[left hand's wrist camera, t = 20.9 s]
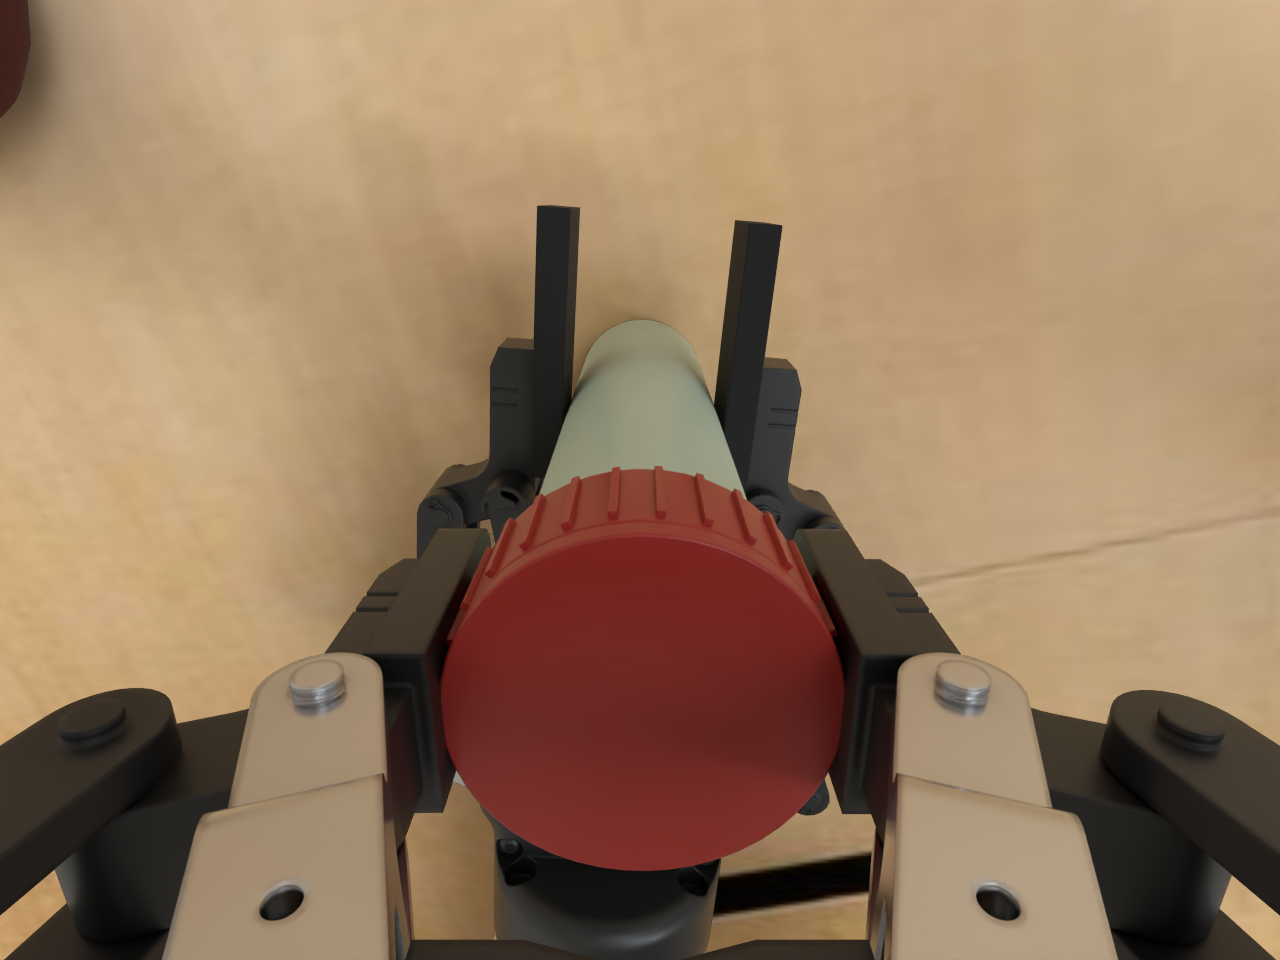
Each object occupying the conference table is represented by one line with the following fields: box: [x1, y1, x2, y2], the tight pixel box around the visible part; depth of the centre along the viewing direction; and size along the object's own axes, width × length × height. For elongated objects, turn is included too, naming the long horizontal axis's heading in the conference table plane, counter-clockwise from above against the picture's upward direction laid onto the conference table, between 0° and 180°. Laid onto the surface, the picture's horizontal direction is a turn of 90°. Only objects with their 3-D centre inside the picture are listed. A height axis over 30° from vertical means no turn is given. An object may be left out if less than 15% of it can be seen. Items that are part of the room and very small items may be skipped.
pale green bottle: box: [540, 320, 747, 500], centre depth 18 cm, size 4×4×17 cm
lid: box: [440, 466, 845, 871], centre depth 10 cm, size 5×5×2 cm
